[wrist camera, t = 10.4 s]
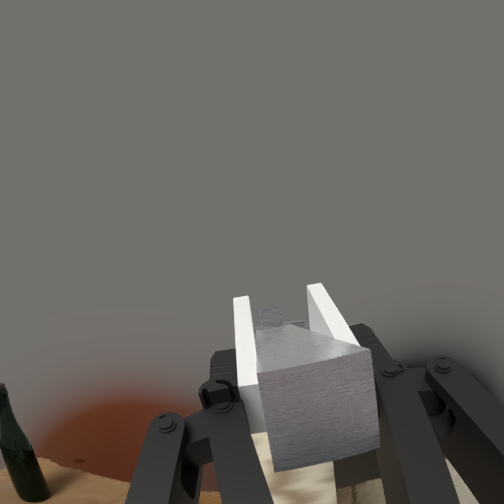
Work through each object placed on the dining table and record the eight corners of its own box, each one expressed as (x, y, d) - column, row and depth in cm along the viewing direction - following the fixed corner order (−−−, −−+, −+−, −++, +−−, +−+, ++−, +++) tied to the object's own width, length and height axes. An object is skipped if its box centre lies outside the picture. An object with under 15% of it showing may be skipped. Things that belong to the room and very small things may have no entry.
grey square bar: (305, 347, 32) (298, 303, 33) (431, 428, 7) (415, 277, 8) (244, 357, 32) (236, 314, 33) (212, 479, 7) (179, 320, 8)
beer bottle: (46, 485, 56) (14, 379, 62) (54, 500, 49) (17, 384, 55) (16, 490, 48) (-18, 381, 54) (21, 505, 41) (-20, 387, 47)
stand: (324, 526, 41) (303, 369, 47) (341, 577, 25) (324, 394, 32) (277, 535, 41) (246, 379, 47) (282, 589, 25) (242, 409, 31)
